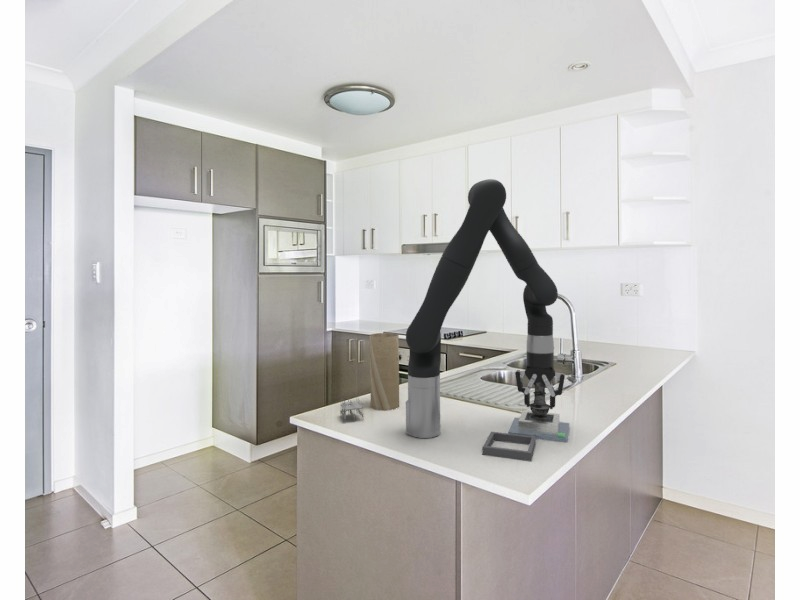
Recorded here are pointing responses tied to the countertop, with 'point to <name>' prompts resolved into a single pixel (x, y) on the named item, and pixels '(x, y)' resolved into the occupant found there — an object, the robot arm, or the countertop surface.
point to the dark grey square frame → (509, 452)
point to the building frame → (352, 406)
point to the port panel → (540, 427)
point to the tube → (384, 371)
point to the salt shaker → (539, 404)
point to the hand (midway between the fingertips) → (539, 407)
